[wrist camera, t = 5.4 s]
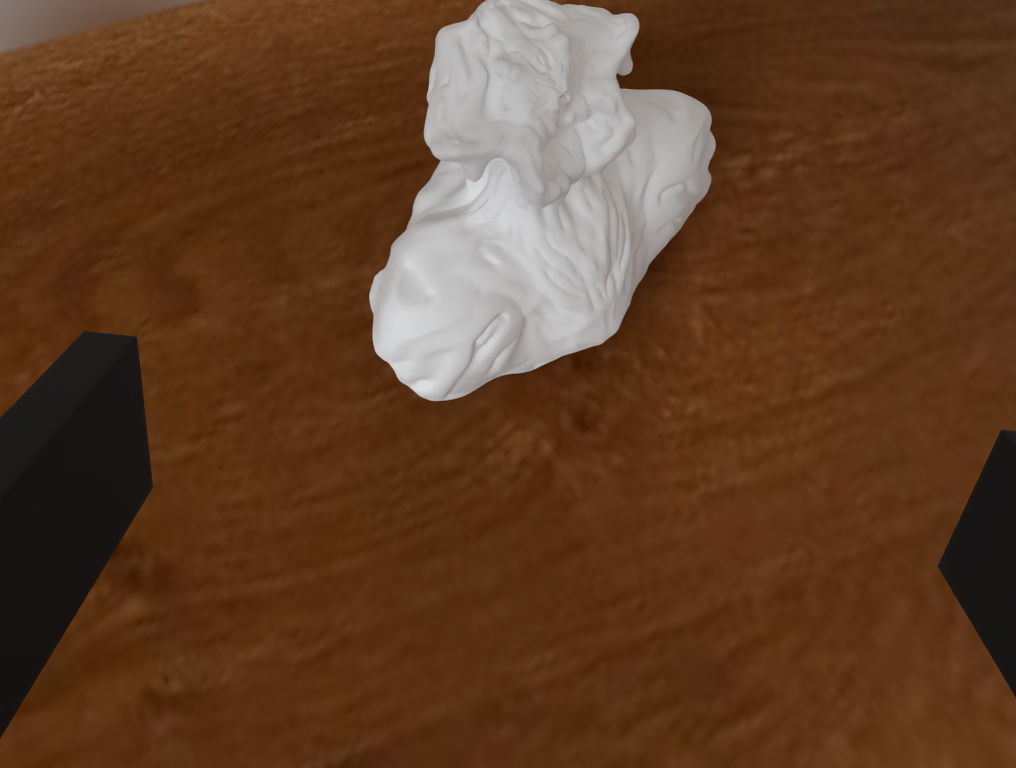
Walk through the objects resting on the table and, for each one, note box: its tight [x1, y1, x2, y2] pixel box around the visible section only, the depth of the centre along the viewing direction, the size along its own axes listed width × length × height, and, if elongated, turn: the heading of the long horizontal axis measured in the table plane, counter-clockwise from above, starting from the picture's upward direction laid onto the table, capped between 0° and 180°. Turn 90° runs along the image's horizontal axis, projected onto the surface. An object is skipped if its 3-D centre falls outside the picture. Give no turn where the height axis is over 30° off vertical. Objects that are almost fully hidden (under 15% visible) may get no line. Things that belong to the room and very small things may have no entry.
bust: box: [369, 0, 716, 401], centre depth 24 cm, size 12×8×11 cm
